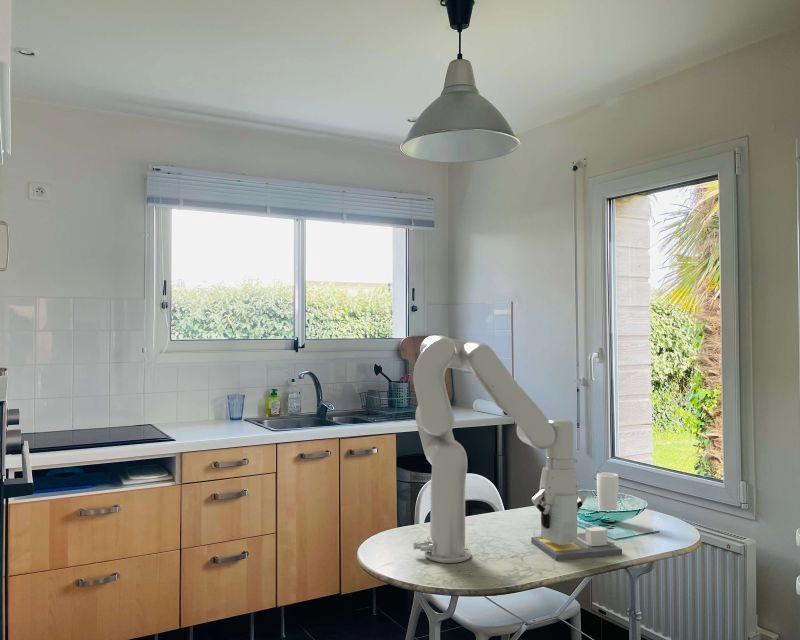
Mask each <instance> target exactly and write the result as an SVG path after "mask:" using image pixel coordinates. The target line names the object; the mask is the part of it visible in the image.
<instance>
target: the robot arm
mask: <svg viewBox="0 0 800 640" xmlns="http://www.w3.org/2000/svg"><path fill="white" fill-rule="evenodd" d="M501 360H502V359H500V358H499V356H498V355H497V354H496V352H495V351H494V350H493V348H492V347H490V345H488V344H486V343H483V342H477V341H476V342H475V341H468V340H467V341H466V340H460V339H456V338H455V339H454V338H450V337H448V336H445V335H438V334H437V335H430V336H427V337H426V338H425V339H423V341H422V342H421V344H420V347H419V356H418V358H417V360H416V362H415V364H414V367H413V373H412V380H413V381H412V382H413V388H414V392H415V395H416V397H415V398H416V402H417V407H416V409H415V422H416V423H415V424H416V426H417V427H416V428H417V430H418V435H419V437H420V441H421V445H422V449H423V452H424V455H425V457H426V460H427V461H428V462H429V464H430V465H431V475H430V476H431V477H430V492H429V493H430V494H429V495H430V515H429V517H430V521H429V522H430V523H429V524H430V525H429V526H430V527H429V528H430V529H429V530H430V531H429V532H430V535H429V536H427V537H426V539H425V540H423V541H413V542H412V548H413V550H420V552H424V556H425V557H426V558H427V559H428V560H430V561H433V562H437V563H445V564H453V563H454V564H456V563H461V562H464V561H467V560H469V559H470V558H471V557H472V555H471V553H472V552H471V550H470V549H469V548H468V547H466V482H467V480H466V479H467V472H468V456H467V452H466V450H465V448H464V446H462V444H461V443H460V442H458V440H455V436H454V433H453V429H454V425H455V414H454V411H453V407H452V405H451V402H450V398H449V395H448V391H447V385H446V379H445V377H446V372H447V369H448V368H449V369H453V370H454V369H455V370H460V371H468V372H470V373H471V374H472V375H473V377H474V378H475V380H476V381H477V382H478V383H479V385H480V386H481V387H482V389H483V390H484V391H485V393H486V394H487V396H488V397H489V399H490V400H491V401H492V403H494V405H495V406H496V407H497V408H499V409H500V410H502V411H503V412H504V413H505V414H507V415H508V417H510V418H511V419H512V420H513V421H514V423H515V424H516V425H517V426H516V434H517V437H518V438H519V440H520V441H522V442H523V443H524V444H526V445H529V446H530V447H532V448H534V449H536V450H540V451H543V450H545V466H543V467H542V471H541V475H540V482H539V491H538V492H537V493H536V494H535V495H534V496H532V497H531V499H530V500H531V501H532V504H534V506H535V507H536V508H537V510H538V511H539V512H540V525H541V524H542V526H543V527H545V528H546V529H549V520H550V515H549V514H548V511H549V509H550V507H551V506H552V505H554V501H555V497H556V496H567V495H577V513H578V512H580V509H581V508H582V506H583V505H584V503H585V501H586V499H587V498H588V497H587V496H586V494H584V493H583V492H582V491H580V490H579V484H578V477H577V472H576V468H575V466H574V465H576V464H577V463H578V459H577V458H575V457H574V431H575V428H574V426H575V425H574V423H573V421H572V420H570V419H568V418H550V419H548V418H547V417H546V415H545V414H544V413H543V412H542V410H541V408H539V406H538V404H536V403H535V401H533V399H532V398H531V397H530V396H529V395H528V394H527V393H526V392H525V390H524V389H523V388H522V387H521V386H520V384H519V383H518V382H517V381H516V380H515V378H514V377H513V376H512V374H511V373H510V372H509V370H508V369H507V367H506V366H505V365H504V363H503V362H502V361H501ZM543 496H544V498H545V499H542V497H543ZM543 500H544V501H543ZM541 501H542V502H543V503H542V505H541V503H540V502H541ZM546 504H547V505H546Z"/></svg>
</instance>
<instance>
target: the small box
mask: <svg viewBox="0 0 800 640" xmlns="http://www.w3.org/2000/svg"><path fill="white" fill-rule="evenodd" d="M542 499H545V498H544V496H543V497H542ZM543 501H544V500H543ZM540 502H541V503H540V504H541V505H542V503H543V502H542V501H540ZM546 505H547V504H546ZM548 514H549V515H550V520H549V529H546V528H545V527H543V526H542V524H541V523H540V534H541V538H544V539H546V540H549V541H551V542H554V543H556V544H559V545H566V544H570V543H574V542H577V534H578V512H577V495H567V496H556V497H555V501H554V505H552V506H551V507H550V509H549V511H548Z"/></svg>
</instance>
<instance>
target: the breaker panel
mask: <svg viewBox="0 0 800 640" xmlns="http://www.w3.org/2000/svg"><path fill="white" fill-rule="evenodd" d="M530 541H531V542H530V543H531V544H533V545H534V546H536V547H537V548H538V549H540V550H541V551H542V552H543V553H545V554H547V556H549V557H551V559H553V560H554V559H555V560H554V561H557V560H558V561H567V559H568V560H575V559H576V560H578V558H579V559H588V558H598V557H609V556H611V557H612V556H622V555H623V549H622V547H620V546H618V545H617V544H615V542H613V541H612V540H609V538H607V545H602V546H591V545H590V544H589V543H587V542H586V532H580V533H578V532H577V542H574V543H570V544H566V545H559V544H556V543H554V542H551V541H549V540H546V539H544V538H541V533H540V535H539V536H533V537H532V536H531V540H530Z"/></svg>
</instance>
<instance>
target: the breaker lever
mask: <svg viewBox="0 0 800 640" xmlns="http://www.w3.org/2000/svg"><path fill="white" fill-rule="evenodd" d="M585 533H586V542H587V543H589V544H590V545H591V546H602V545H607V539H608V529H607V528H605V527H603V526H593V527H585Z"/></svg>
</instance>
